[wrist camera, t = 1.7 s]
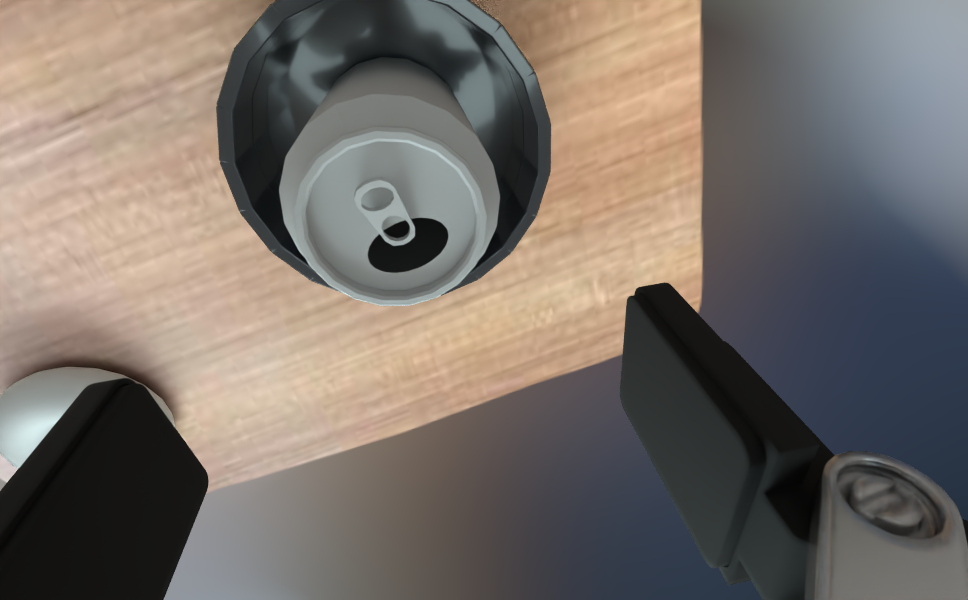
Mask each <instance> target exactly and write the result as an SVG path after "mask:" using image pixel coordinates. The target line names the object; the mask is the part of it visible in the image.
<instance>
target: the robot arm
mask: <svg viewBox="0 0 968 600" xmlns="http://www.w3.org/2000/svg"><path fill="white" fill-rule="evenodd" d="M620 398H621V403H622V406H623V408H624V411H625V412H626V414H627V416H628V418H629V420H630V422H631V424H632V426H633V427H634V429H635V431H636V433H637V435H638V437H639V439H640V440H641V442H642V444H643V446H644V448H645V450H646V451H647V454H648V455H649V457H650V459H651V461H652V463H653V465H654V467H655V468H656V470H657V472H658V474H659V476H660V478H661V480H662V481H663V483H664V485H665V487H666V489H667V491H668V493H669V495H670V496H671V498H672V500H673V502H674V504H675V506H676V508H677V509H678V511H679V513H680V515H681V517H682V519H683V521H684V523H685V524H686V526H687V528H688V530H689V532H690V534H691V536H692V538H693V539H694V541H695V543H696V545H697V547H698V549H699V550H700V552H701V554H702V556H703V558H704V559H705V561H706V562H707V563H708V565H709V566H710V567H712V568H716V567H719V569H720V571H721V573H722V575H723V576H724V578H725V580H726V582H727V584H728V585H732V584H736V583H741V582H746V581H750V580H752V582H753V584H754V585H755V587H756V589H757V590H758V592H759V594H760V595H761V597H762V599H763V600H968V521H966V520H964V519H962V518H961V516H960V514H959V511H958V509H957V507H956V505H955V503H954V502H953V501H952V500H951V499H950V497H949V496H948V495H947V494H946V492H945V491H944V490H943V489H942V488H941V487H940V486H938V485H937V484H936V483H935V482H934V481H932V480H931V479H930V478H929V477H927V476H926V475H925V474H923V473H921V472H920V471H918V470H916V469H915V468H913V467H911V466H909V465H908V464H906V463H903V462H901V461H898V460H896V459H893V458H891V457H888V456H886V455H881V454H876V453H871V452H867V451H848V452H845V453H841V454H838V455H834V454H833V453H832V452H831V451H830V450H829V449H828V448H827V447H826V446H825V445H824V444H823V443H822V442H821V441H820V439H819V438H818V437H817V436H816V435H815V434H814V433H813V432H812V431H811V430H810V429H809V428H808V427H807V426H806V425H805V424H804V422H803V421H802V420H801V419H800V418H799V417H798V416H797V415H796V414H795V413H794V412H793V411H792V410H791V409H790V408H789V407H788V406H787V404H786V403H785V402H784V401H783V400H782V399H781V398H780V397H779V396H778V395H777V394H776V393H775V392H774V391H773V390H772V389H771V387H770V386H769V385H768V384H767V383H766V382H765V381H764V380H763V379H762V378H761V377H760V376H759V375H758V374H757V373H756V372H755V371H754V369H752V367H751V366H750V365H749V364H748V363H747V362H746V361H745V360H744V359H743V358H742V357H741V356H740V355H739V354H738V353H737V352H736V350H735V349H734V348H733V347H732V346H730V345H729V344H728V343H726V342H725V341H723V340H722V339H721V338H720V337H719V336H718V335H717V334H716V333H715V332H714V331H713V330H712V328H711V327H710V326H709V325H708V324H707V323H706V322H705V321H704V320H703V319H702V318H701V317H700V316H699V315H698V313H697V312H696V311H695V310H694V309H693V308H692V307H691V306H690V305H689V304H688V303H687V302H686V301H685V300H684V298H683V297H682V296H681V295H680V294H679V293H678V292H677V291H676V290H675V289H674V288H673V287H672V286H671V285H670V284H669V283H660V284H654V285H648V286H643V287H639V288H637V289H636V291H635V295H634V296H630V297H628V299H627V306H626V319H625V332H624V345H623V358H622V371H621V385H620ZM207 488H208V475H207V472H206V470H205V469H204V467H203V466H202V465H201V463H200V462H199V461H198V459H197V458H196V456H195V455H194V454H193V452H192V451H191V449H190V448H189V447H188V445H187V444H186V442H185V441H184V440H183V438H182V437H181V436H180V434H179V433H178V431H177V430H176V429H175V427H174V426H173V424H172V423H171V422H170V420H169V419H168V417H167V416H166V415H165V413H164V412H163V411H162V409H161V408H160V406H159V405H158V404H157V402H156V401H155V399H154V398H153V397H152V395H151V394H150V392H149V391H148V390H147V388H146V387H145V386H144V385H142V384H137V383H136V382H135V381H133V380H131V379H129V378H120V379H115V380H109V381H103V382H98V383H93V384H90V385H88V386H87V387H86V388H85V389H83V391H82V392H81V393H80V394H79V395H78V397H77V398H76V399H75V400H74V402H73V403H72V404H71V405H70V406H69V408H68V409H67V410H66V411H65V413H64V414H63V415H62V416H61V417H60V419H59V420H58V421H57V422H56V424H55V425H54V426H53V427H52V428H51V430H50V431H49V432H48V433H47V435H46V436H45V437H44V438H43V440H42V441H41V442H40V443H39V444H38V446H37V447H36V448H35V449H34V451H33V452H32V453H31V454H30V455H29V457H28V458H27V459H26V460H25V462H24V463H23V464H22V465H21V466H20V468H19V469H18V470H17V471H16V473H15V474H14V475H13V476H12V477H11V479H10V480H9V481H8V482H7V484H6V485H5V486H4V487H3V488H2V490H1V491H0V600H163V599H164V597H165V594H166V592H167V589H168V587H169V584H170V582H171V579H172V577H173V574H174V572H175V569H176V567H177V564H178V562H179V559H180V556H181V554H182V552H183V549H184V547H185V544H186V542H187V539H188V537H189V534H190V532H191V529H192V527H193V524H194V522H195V519H196V517H197V514H198V511H199V509H200V506H201V504H202V502H203V499H204V497H205V494H206V492H207Z"/></svg>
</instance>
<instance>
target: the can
mask: <svg viewBox="0 0 968 600" xmlns="http://www.w3.org/2000/svg"><path fill="white" fill-rule="evenodd" d="M279 193H280V200H281V206H282V212H283V219H284V224H285V226H286V227H287V229H288V231H289V233H290V235H291V237H292V239H293V241H294V243H295V244H296V246H297V248H298V250H299V252H300V253H301V254H302V255H303V256H304V257H305V259H306V261H307V263H308V264H309V266H310V267H311V268H312V269H313V270H314V271H315V272H316V273H317V274H318V275H319V276H320V277H321V278H322V279H323V280H324V281H325V282H326V283H327V284H328V285H330V286H331V287H333V288H335V289H337V290H339V291H340V292H342V293H344V294H346V295H348V296H349V297H351V298H353V299H356V300H360V301H364V302H368V303H372V304H376V305H380V306H410V305H413V304H417V303H421V302H424V301H428V300H431V299H435V298H437V297H439V296H440V295H442V294H444V293H445V292H447V291H448V290H450V289H452V288H453V287H455V286H457V285H458V284H459V283H460V282H461V281H462V280H463V279H464V278H465V277H466V276H467V274H468V273H469V272H470V271H471V270H472V269H473V268H474V267H475V266H476V264H477V262H478V260H479V259H480V258H481V257H482V256H483V254H484V253H485V251H486V249H487V247H488V245H489V242H490V240H491V238H492V236H493V234H494V232H495V229H496V227H497V220H498V211H499V202H500V194H499V189H498V184H497V180H496V175H495V171H494V166H493V163H492V162H491V160H490V158H489V156H488V154H487V153H486V151H485V149H484V147H483V145H482V143H481V142H480V140H479V138H478V136H477V134H476V132H475V131H474V129H473V127H472V125H471V123H470V122H469V120H468V118H467V116H466V114H465V112H464V111H463V109H462V107H461V105H460V104H459V102H458V100H457V99H456V97H455V95H454V94H453V92H452V90H451V89H450V87H449V86H448V85H447V84H446V83H445V82H444V81H443V80H442V79H440V78H439V77H438V76H437V75H436V74H435V73H434V72H433V71H431V70H430V69H428V68H426V67H424V66H421V65H419V64H417V63H415V62H412V61H410V60H408V59H400V58H387V57H380V58H376V59H373V60H369V61H365V62H362V63H358V64H356V65H355V66H354V67H352V68H351V69H350V70H348V71H347V72H345V73H344V74H343V75H341V76H340V77H339V78H337V80H336V81H335V83H334V84H333V86H332V87H331V89H330V90H329V92H328V93H327V95H326V96H325V98H324V99H323V100H322V102H321V103H320V105H319V106H318V108H317V109H316V111H315V112H314V114H313V115H312V117H311V118H310V120H309V121H308V123H307V124H306V125H305V127H304V129H303V130H302V132H301V133H300V135H299V136H298V138H297V139H296V141H295V143H294V144H293V146H292V147H291V149H290V150H289V152H288V153H287V155H286V157H285V162H284V167H283V172H282V177H281V182H280V187H279Z"/></svg>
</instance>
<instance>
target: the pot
mask: <svg viewBox="0 0 968 600" xmlns="http://www.w3.org/2000/svg"><path fill="white" fill-rule="evenodd" d="M380 57H387V58H400V59H408V60H410V61H412V62H415V63H417V64H419V65H421V66H424V67H426V68H428V69H430V70H431V71H433V72H434V73H435V74H436V75H437V76H438V77H439V78H440V79H442V80H443V81H444V82H445V83H446V84H447V85H448V86H449V87H450V89H451V90H452V92H453V94H454V95H455V97H456V99H457V100H458V102H459V104H460V105H461V107H462V109H463V111H464V112H465V114H466V116H467V118H468V120H469V122H470V123H471V125H472V127H473V129H474V131H475V132H476V134H477V136H478V138H479V140H480V142H481V143H482V145H483V147H484V149H485V151H486V153H487V154H488V156H489V158H490V160H491V162H492V163H493V166H494V171H495V175H496V180H497V184H498V189H499V194H500V202H499V211H498V220H497V227H496V229H495V232H494V234H493V236H492V238H491V240H490V242H489V245H488V247H487V249H486V251H485V253H484V254H483V256H482V257H481V258H480V259H479V260H478V262H477V264H476V266H475V267H474V268H473V269H472V270H471V271H470V272H469V273H468V274H467V276H466V277H465V278H464V279H463V280H462V281H461V282H460V283H459V284H458V285H457V286H455V287H453V288H452V289H450V290H448V291H447V292H445V293H444V294H446V293H449V292H451V291H453V290H455V289H458V288H460V287H462V286H465V285H467V284H469V283H472V282H474V281H476V280H478V279H480V278H481V277H482V276H484V275H485V274H486V273H487V272H488V271H490V270H491V269H492V268H493V267H495V266H496V265H497V264H498V263H499V262H501V261H502V260H503V259H504V258H506V257H507V256H508V255H509V254H510V253H511V252H512V251H513V250H514V248H515V247H516V245H517V244H518V243H519V241H520V240H521V238H522V237H523V235H524V234H525V232H526V231H527V229H528V228H529V227H530V225H531V224H532V222H533V221H534V219H535V218H536V216H537V213H538V210H539V207H540V203H541V200H542V197H543V194H544V191H545V188H546V185H547V182H548V178H549V175H550V172H551V123H550V118H549V115H548V112H547V109H546V105H545V102H544V99H543V96H542V92H541V89H540V86H539V82H538V79H537V76H536V73H535V72H534V69H533V68H532V66H531V65H530V63H529V62H528V61H527V59H526V58H525V56H524V55H523V53H522V52H521V51H520V49H519V48H518V46H517V45H516V43H515V42H514V41H513V39H512V38H511V36H510V35H509V33H508V32H507V31H506V29H505V28H504V26H503V25H501V23H500V22H499V21H497V20H496V19H495V18H493V17H492V16H491V15H489V14H488V13H486V12H485V11H484V10H482V9H481V8H480V7H478V6H477V5H476V4H474V3H473V2H471V1H470V0H276V1H274V2H273V4H270V5H269V7H268V8H267V9H266V10H265V12H264V13H263V14H262V15H261V16H260V18H259V19H258V20H257V21H256V22H255V24H254V25H253V26H252V27H251V29H250V30H249V31H248V32H247V33H246V35H245V36H244V37H243V38H242V39H241V41H240V42H239V43H238V44H237V46H236V47H235V48H234V51H233V52H232V56H231V59H230V62H229V65H228V69H227V72H226V75H225V78H224V81H223V85H222V88H221V91H220V94H219V98H218V101H217V107H216V111H217V128H218V145H219V160H220V161H221V162H220V164H221V167H222V169H223V172H224V174H225V177H226V179H227V182H228V184H229V187H230V189H231V192H232V194H233V197H234V199H235V202H236V204H237V207H238V209H239V211H240V213H241V215H242V216H243V217H244V218H245V220H246V221H247V222H248V223H249V225H250V226H251V227H252V228H253V230H254V231H255V232H256V233H257V235H258V236H259V237H260V238H261V240H262V241H263V242H264V244H265V245H266V246H267V247H268V249H269V250H270V251H271V252H272V253H273V254H275V255H276V256H277V257H279V258H280V259H282V260H283V261H284V262H286V263H287V264H289V265H290V266H291V267H293V268H294V269H295V270H297V271H298V272H300V273H301V274H302V275H304V276H305V277H306V278H308V279H309V280H311V281H313V282H315V283H318V284H321V285H323V286H326V287H328V288H331V289H334V290H336V291H339V290H337V289H335V288H333V287H331V286H330V285H328V284H327V283H326V282H325V281H324V280H323V279H322V278H321V277H320V276H319V275H318V274H317V273H316V272H315V271H314V270H313V269H312V268H311V267H310V266H309V264H308V263H307V261H306V259H305V257H304V256H303V255H302V254H301V253H300V252H299V250H298V248H297V246H296V244H295V243H294V241H293V239H292V237H291V235H290V233H289V231H288V229H287V227H286V226H285V224H284V219H283V212H282V206H281V200H280V193H279V187H280V182H281V177H282V172H283V167H284V162H285V157H286V155H287V153H288V152H289V150H290V149H291V147H292V146H293V144H294V143H295V141H296V139H297V138H298V136H299V135H300V133H301V132H302V130H303V129H304V127H305V125H306V124H307V123H308V121H309V120H310V118H311V117H312V115H313V114H314V112H315V111H316V109H317V108H318V106H319V105H320V103H321V102H322V100H323V99H324V98H325V96H326V95H327V93H328V92H329V90H330V89H331V87H332V86H333V84H334V83H335V81H336V80H337V78H339V77H340V76H341V75H343V74H344V73H345V72H347V71H348V70H350V69H351V68H352V67H354V66H355V65H356V64H358V63H362V62H365V61H369V60H373V59H376V58H380ZM339 292H340V291H339ZM341 293H342V292H341ZM444 294H442V295H444ZM442 295H440V296H442Z"/></svg>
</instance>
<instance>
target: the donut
mask: <svg viewBox="0 0 968 600" xmlns="http://www.w3.org/2000/svg"><path fill="white" fill-rule="evenodd" d="M120 378H129V377H126V376H124V375H122V374H118V373H114V372H110V371H106V370H102V369H98V368H83V367H62V368H56V369H50V370H44V371H40V372H37V373H34V374H32V375H30V376H28V377H26V378H23V379H21V380H19V381H17V382H15V383H14V384H12V385H11V386H9V387H8V388H7V389H6V390H5V391H4V392H3V394H2V395H1V396H0V454H1V455H2V456H3V457H4V458H5V459H6V460H8V461H9V462H10V463H11V464H12V465H13V466H14V467H16V468H18V469H19V468H20V466H21V465H22V464H23V463H24V462H25V460H26V459H27V458H28V457H29V455H30V454H31V453H32V452H33V451H34V449H35V448H36V447H37V446H38V444H39V443H40V442H41V441H42V440H43V438H44V437H45V436H46V435H47V433H48V432H49V431H50V430H51V428H52V427H53V426H54V425H55V424H56V422H57V421H58V420H59V419H60V417H61V416H62V415H63V414H64V413H65V411H66V410H67V409H68V408H69V406H70V405H71V404H72V403H73V402H74V400H75V399H76V398H77V397H78V395H79V394H80V393H81V392H82V391H83V389H85V388H86V387H87V386H88V385H90V384H93V383H98V382H103V381H109V380H115V379H120ZM129 379H131V378H129ZM131 380H133V379H131ZM133 381H135V380H133ZM135 382H136V383H137V384H141V383H139V382H137V381H135ZM142 385H144V384H142ZM144 386H145V385H144ZM145 387H146V386H145ZM146 388H147V387H146ZM147 390H148V391H149V392H150V394H151V395H152V397H153V398H154V399H155V401H156V402H157V404H158V405H159V406H160V408H161V409H162V411H163V412H164V413H165V415H166V416H167V417H168V419H169V420H170V422H171V423H172V424H173V426H174V427H175V424H174V419H173V414H172V413H171V411H170V410H169V408H168V407H167V405H166V404H165V403H164V401H163V400H162V399H161V398H160V397H159V396H158V395H156V394H155V393H154V392H153V391H151V390H150V389H149V388H147Z"/></svg>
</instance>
